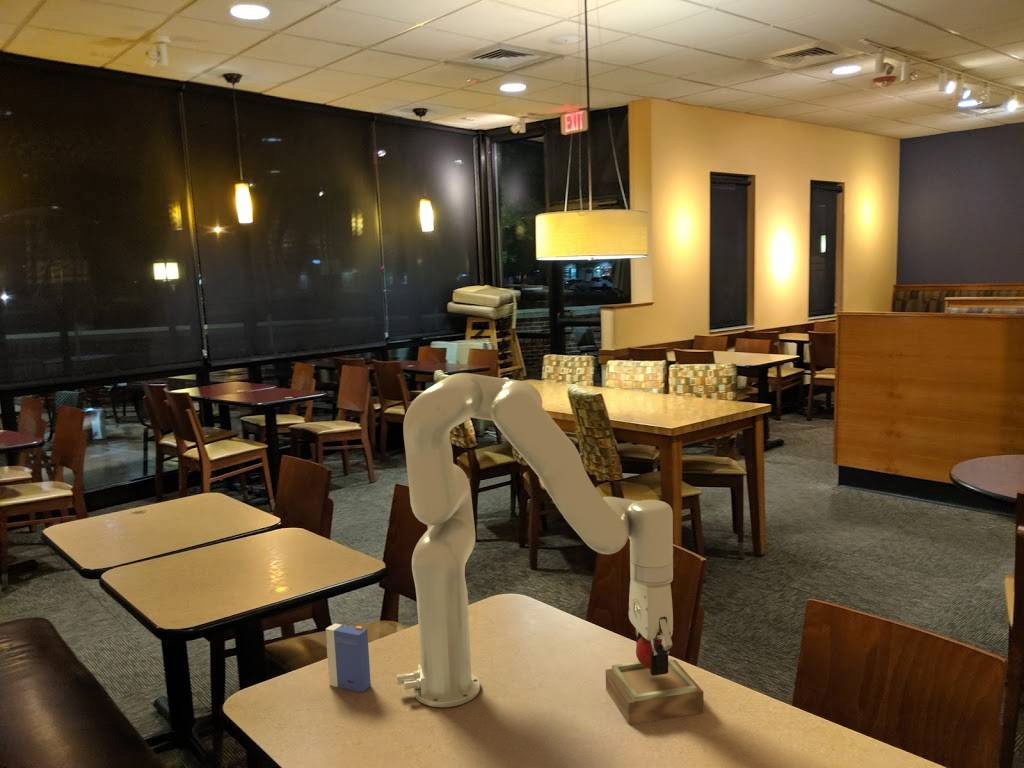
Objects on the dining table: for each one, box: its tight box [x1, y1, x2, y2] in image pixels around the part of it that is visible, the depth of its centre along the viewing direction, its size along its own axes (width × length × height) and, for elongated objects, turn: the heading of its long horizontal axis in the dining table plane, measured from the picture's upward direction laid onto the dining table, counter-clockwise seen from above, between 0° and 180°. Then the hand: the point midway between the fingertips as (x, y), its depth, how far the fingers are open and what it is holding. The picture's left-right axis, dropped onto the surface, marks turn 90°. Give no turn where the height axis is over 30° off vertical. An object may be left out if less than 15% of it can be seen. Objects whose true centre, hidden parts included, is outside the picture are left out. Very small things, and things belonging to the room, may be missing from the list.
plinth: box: [605, 656, 704, 726], centre depth 144 cm, size 14×12×5 cm
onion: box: [635, 633, 670, 669], centre depth 143 cm, size 6×6×8 cm
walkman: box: [325, 623, 372, 693], centre depth 152 cm, size 8×3×12 cm, turn 66°
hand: (652, 664), depth 143 cm, fingers closed on onion, 5 cm apart
